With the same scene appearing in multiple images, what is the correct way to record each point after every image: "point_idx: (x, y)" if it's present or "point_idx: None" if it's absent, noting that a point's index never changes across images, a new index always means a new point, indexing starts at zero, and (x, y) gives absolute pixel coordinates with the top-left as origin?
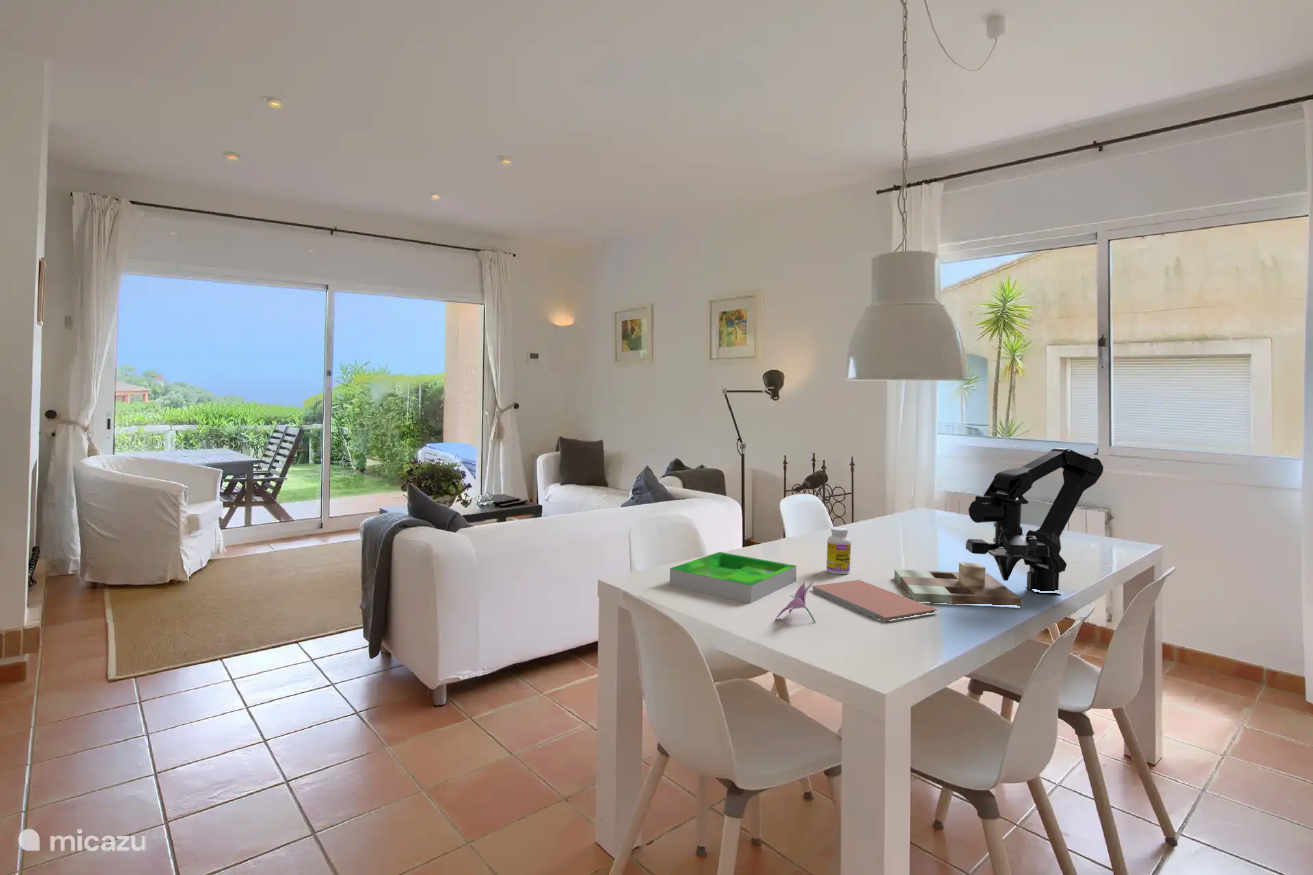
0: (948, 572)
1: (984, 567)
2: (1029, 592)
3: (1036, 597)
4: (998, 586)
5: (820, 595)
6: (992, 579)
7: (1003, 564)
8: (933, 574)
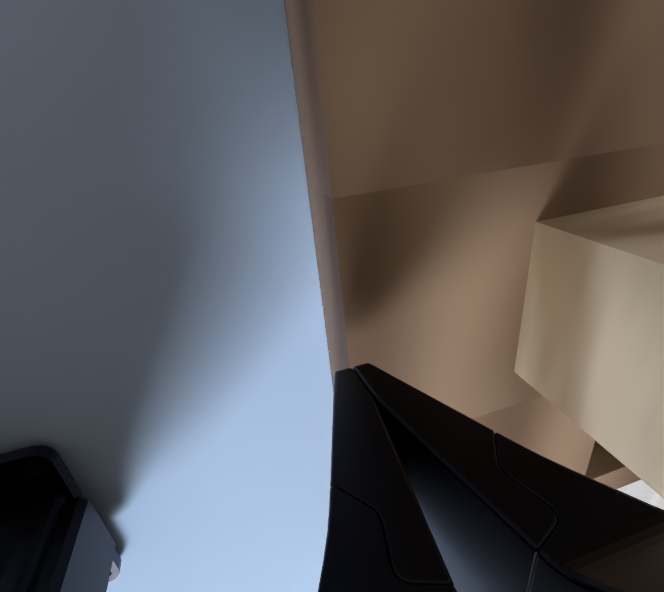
0: None
1: None
2: (102, 452)
3: (42, 336)
4: (407, 285)
5: None
6: None
7: (547, 488)
8: None
